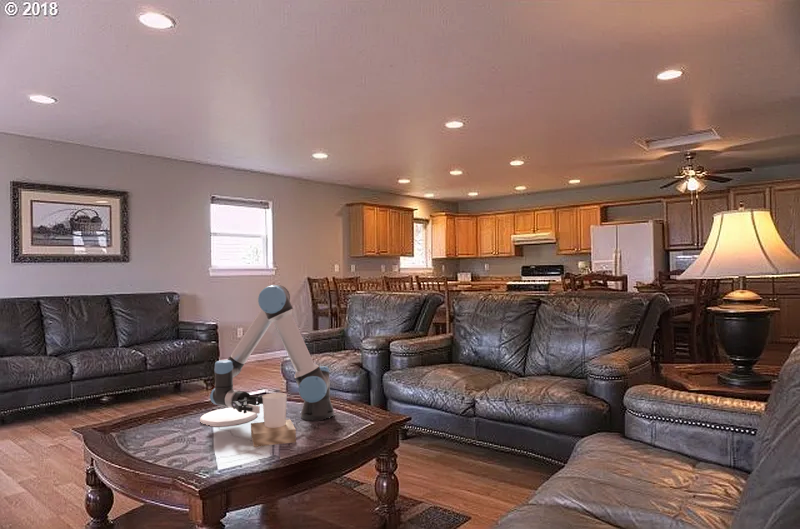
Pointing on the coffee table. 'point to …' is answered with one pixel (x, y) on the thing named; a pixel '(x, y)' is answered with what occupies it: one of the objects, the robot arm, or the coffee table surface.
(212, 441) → the coffee table surface
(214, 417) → the decorative plate
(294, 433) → the maple riser
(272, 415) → the candle holder
